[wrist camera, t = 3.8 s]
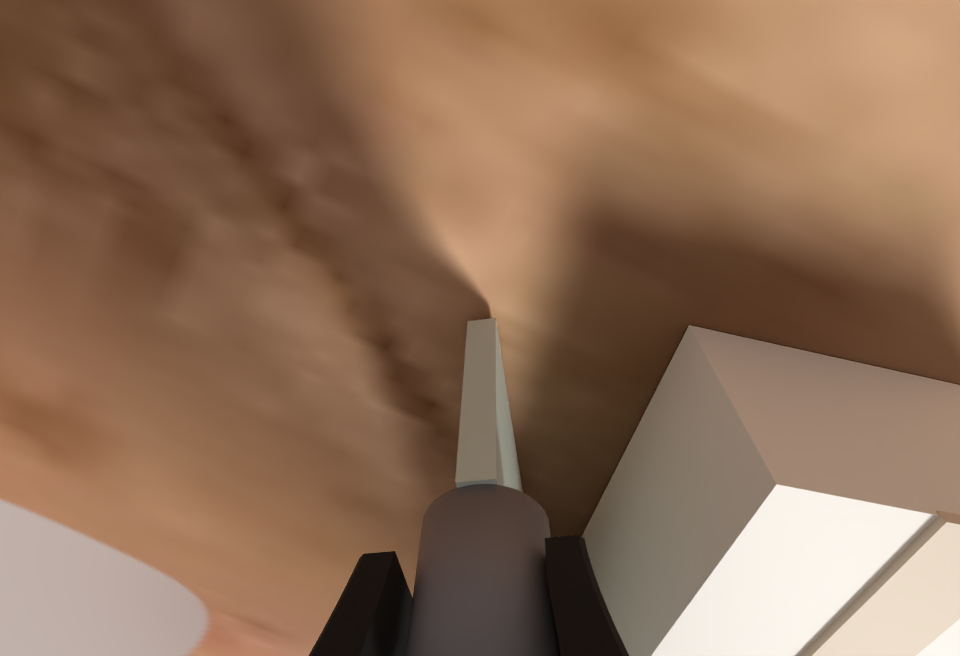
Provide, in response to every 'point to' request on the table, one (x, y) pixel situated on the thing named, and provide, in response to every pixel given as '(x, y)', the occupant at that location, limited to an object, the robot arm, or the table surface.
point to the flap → (483, 534)
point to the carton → (784, 509)
